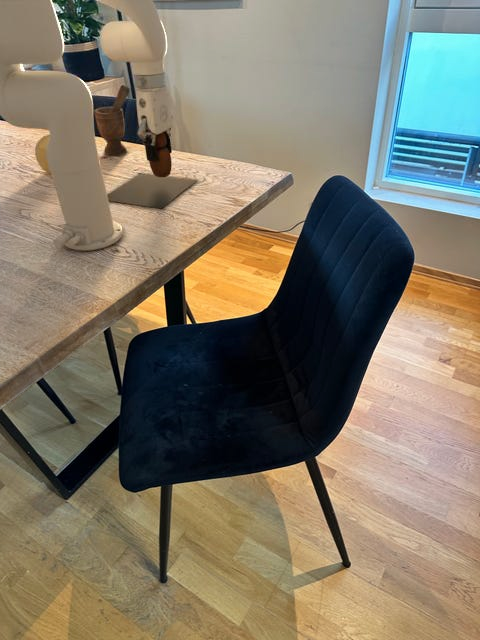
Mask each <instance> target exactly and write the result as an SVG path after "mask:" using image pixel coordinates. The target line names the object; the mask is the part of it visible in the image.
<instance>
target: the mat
mask: <svg viewBox="0 0 480 640" xmlns="http://www.w3.org/2000/svg"><path fill="white" fill-rule="evenodd" d="M195 183H197V180H196V179H191V178H190V179H189V178H180V177H172V176H166V177H157V176H155V175H154V174H148V173H138V174H137V175H136V176H134V177H133V178H131V179H129V180H128V181H126V182H125V183H123V184H122V185H120V186H119V187H117V188H115V189H114V190H113V191H111V192H109V193H107V197H108V201H109V203H116V204H124V205H131V206H138V207H144V208H150V209H158V210H163V209H164V208H165V207H167V206H168V205H169V204H170V203H172V201H174V200H175V199H177V197H179V196H180V195H182V193H184V192H185V191H187V189H189V188H190V187H191V186H192V185H194V184H195Z"/></svg>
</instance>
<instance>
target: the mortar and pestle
mask: <svg viewBox="0 0 480 640" xmlns="http://www.w3.org/2000/svg"><path fill="white" fill-rule="evenodd" d="M129 94H130V87H129V86H128V85H126V84H121V85H120V87H119V89H118V92H117V95H116V98H115V101H114V104H113V106H103V107H97V108H96V109H93V114H94V116H95V121H96V127H97V129H98V132H99V134H100V136H101V138H102V139H103V140H104V141H105V142H106V146H105V147H104V149H103V150H104V151H103V153H104V155H105V156H109V157H116V156H121V155H124V154H127V153H128V150H127V147H126V146H125V144H123V143H122V138H124V136H125V131H126V130H125V127H126V126H125V119H124V110H123V108H122V106H123V105H124V103H125V101H126V100H127V98H128V96H129Z"/></svg>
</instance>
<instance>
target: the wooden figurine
mask: <svg viewBox="0 0 480 640" xmlns="http://www.w3.org/2000/svg"><path fill="white" fill-rule="evenodd" d="M148 137H149V138H150V139H151V135H148ZM166 144H167V141H166V136H165V134H164V133H163V132H162V133H160V134H156V137H155V145H157V152H158V161H157V162H155V161H148V162H149V166H150V167H149V168H150V169H151V172H152V175H155V176H157V177H169V176H170V175H171V172H172V163H173V162H172V157H171V153H170V152H169V150H168V149H167V148H166V147H165V146H166Z"/></svg>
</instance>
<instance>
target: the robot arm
mask: <svg viewBox="0 0 480 640" xmlns="http://www.w3.org/2000/svg"><path fill="white" fill-rule="evenodd" d="M95 1H96V2H98V3H101V4H103V5H106V6H107V7H110V8H112V9H115V10H117V11H118V12H120V13H122V14H123V15H125V16H126V17H128V19H130V20H114V21H112V20H111V21H109V22H107V23H105V24H104V25H103V27H102V28H101V29H100V34H99V44H100V48H101V50H102V52H103V53H104V55H105V56H106V57H107V58H109V59H110V60H111V61H114V62H119V63H120V62H121V63H131V67H132V74H133V81H134V89H135V90H136V91H135V98H136V100H135V101H136V112H137V121H138V130H137V136H138V137H139V139H140V140H141V142H142V144H143V146H144V149H145V156H146V160H147V162H149V161H155V162H157V161H158V152H157V145H155V137H156V134H160V133H162V132H163V133H164V134H165V136H166V141H167V144H166V146H165V147H166V148H167V149H168V150H169V152H170V154H171V153H172V152H173V151H172V150H173V149H172V141H171V137H172V136H171V135H172V133H171V130H172V128H173V126H174V118H173V117H174V116H173V111H172V110H173V109H172V104H171V99H170V93H169V90H168V86H167V83H166V82H167V81H166V73H165V64H164V58H165V56H166V54H167V50H168V39H167V34H166V32H165V31H166V30H165V27H164V24H163V22H162V19H161V16H160V13H159V11H158V9H157V7H156V4H155V3H154V1H153V0H95ZM54 6H55V5H54V3H53V0H0V117H1V118H2V119H3V120H4V121H5V122H6V123H8V124H9V125H11V126H14V127H17V128H21V129H22V128H23V129H34V130H35V129H36V130H45V131H48V132H49V134H50V137H49V141H48V145H47V149H46V157H47V162H48V166H49V169H50V172H51V174H50V175H51V178H52V181H53V185H54V188H55V192H56V196H57V198H58V202H59V205H60V210H61V212H62V216H63V218H64V223H65V224H63V225H62V229H63V231H62V233H61V235H59V236H56V238H54V239H53V241H52V244H53V245H54V247H55V248H57V249H61V248H62V247H67V248H68V249H71V250H75V251H83V252H85V251H95V250H100V249H103V248H107V247H109V246H112V245H114V244H115V243H117V242H118V241H119V240H121V238H122V237H123V228H122V226H121V224H119V223H118V222H115V221H114V220H113V215H112V210H111V206H110V202H109V201H108V197H107V195H108V192H107V188H106V184H105V178H104V175H103V171H102V165H101V162H100V157H99V152H98V148H97V147H98V146H97V142H96V134H95V123H94V102H93V97H92V93H91V91H90V89H89V87H88V85H87V84H86V83H85V81H84V80H82V79H81V78H80V77H78V76H77V75H75V74H72V73H71V72H66V71H61V70H60V71H59V70H25V69H24V67H23V65H31V66H32V65H36V66H37V65H40V66H43V65H50V64H54V63H56V62H58V61H59V60H60V59H61V58H62V57H63V54H64V52H65V51H64V50H65V43H64V42H65V41H64V36H63V33H62V28H61V25H60V21H59V19H58V16H57V12H56V9H55V7H54ZM149 135H151V139H150V138H149Z"/></svg>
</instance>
